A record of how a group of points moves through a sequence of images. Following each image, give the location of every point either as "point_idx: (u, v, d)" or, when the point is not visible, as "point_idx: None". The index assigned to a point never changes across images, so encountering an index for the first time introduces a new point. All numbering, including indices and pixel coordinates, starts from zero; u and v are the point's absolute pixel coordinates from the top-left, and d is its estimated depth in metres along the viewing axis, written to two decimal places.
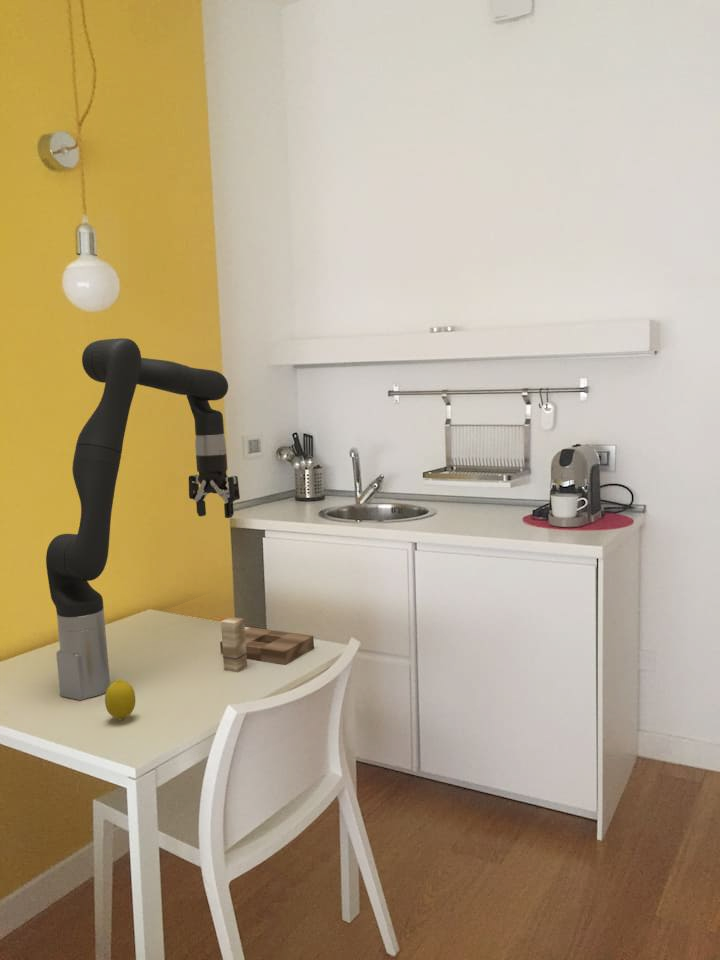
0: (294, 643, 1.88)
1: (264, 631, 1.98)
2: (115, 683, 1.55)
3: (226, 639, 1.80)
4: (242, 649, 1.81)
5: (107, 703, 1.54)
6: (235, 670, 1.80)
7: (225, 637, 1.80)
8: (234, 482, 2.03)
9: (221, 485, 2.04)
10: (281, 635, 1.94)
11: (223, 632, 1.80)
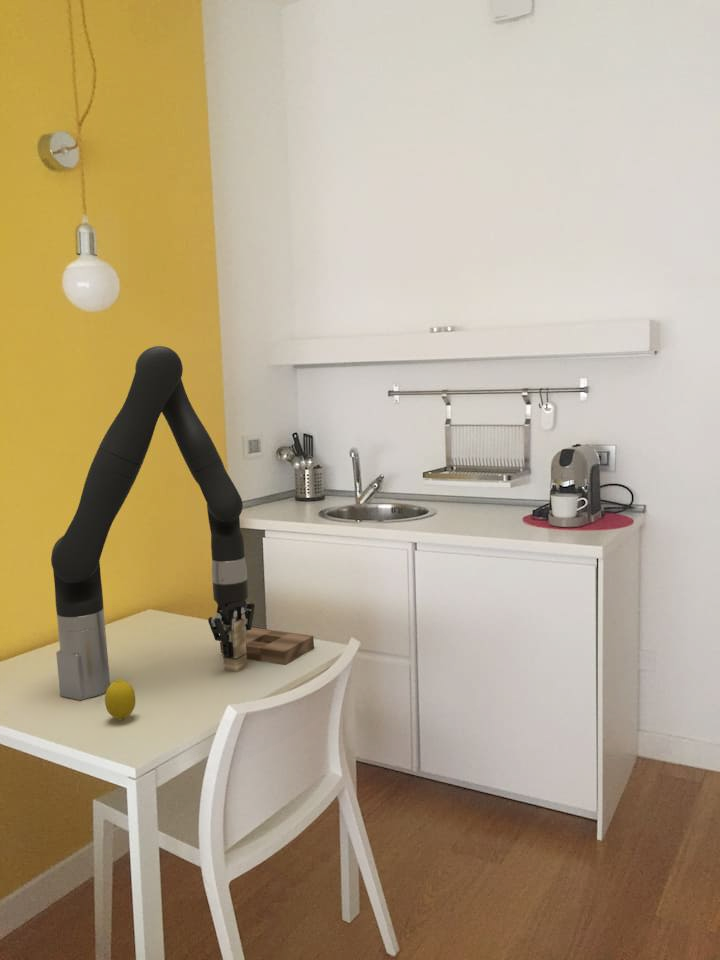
0: (294, 643, 1.88)
1: (264, 631, 1.98)
2: (115, 683, 1.55)
3: None
4: (242, 649, 1.81)
5: (107, 703, 1.54)
6: (235, 670, 1.80)
7: None
8: None
9: None
10: (281, 635, 1.94)
11: None
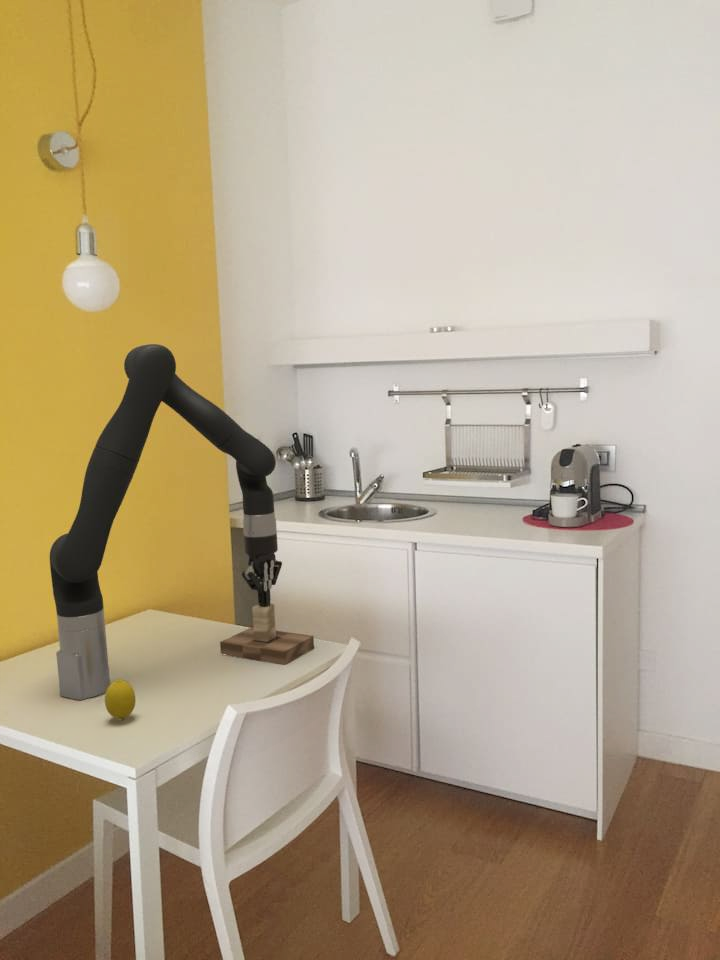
0: (294, 643, 1.88)
1: None
2: (115, 683, 1.55)
3: (257, 624, 1.91)
4: (272, 633, 1.92)
5: (107, 703, 1.54)
6: None
7: (256, 622, 1.91)
8: None
9: None
10: (281, 635, 1.94)
11: (254, 617, 1.91)
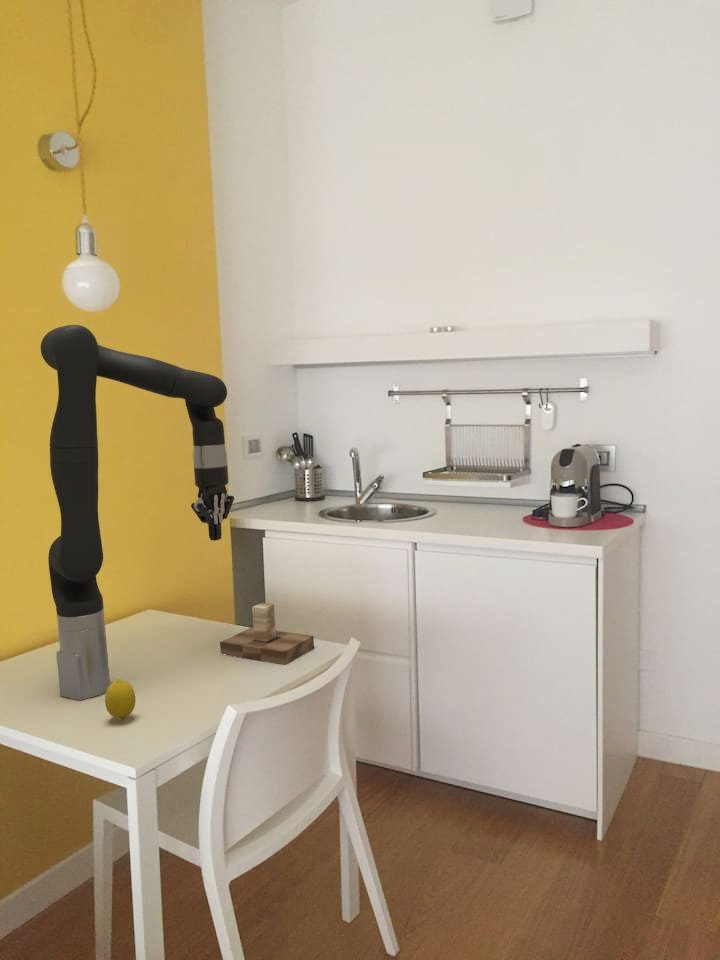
0: (294, 643, 1.88)
1: None
2: (115, 683, 1.55)
3: (257, 624, 1.91)
4: (272, 633, 1.92)
5: (107, 703, 1.54)
6: None
7: (256, 622, 1.91)
8: None
9: None
10: (281, 635, 1.94)
11: (254, 617, 1.91)
